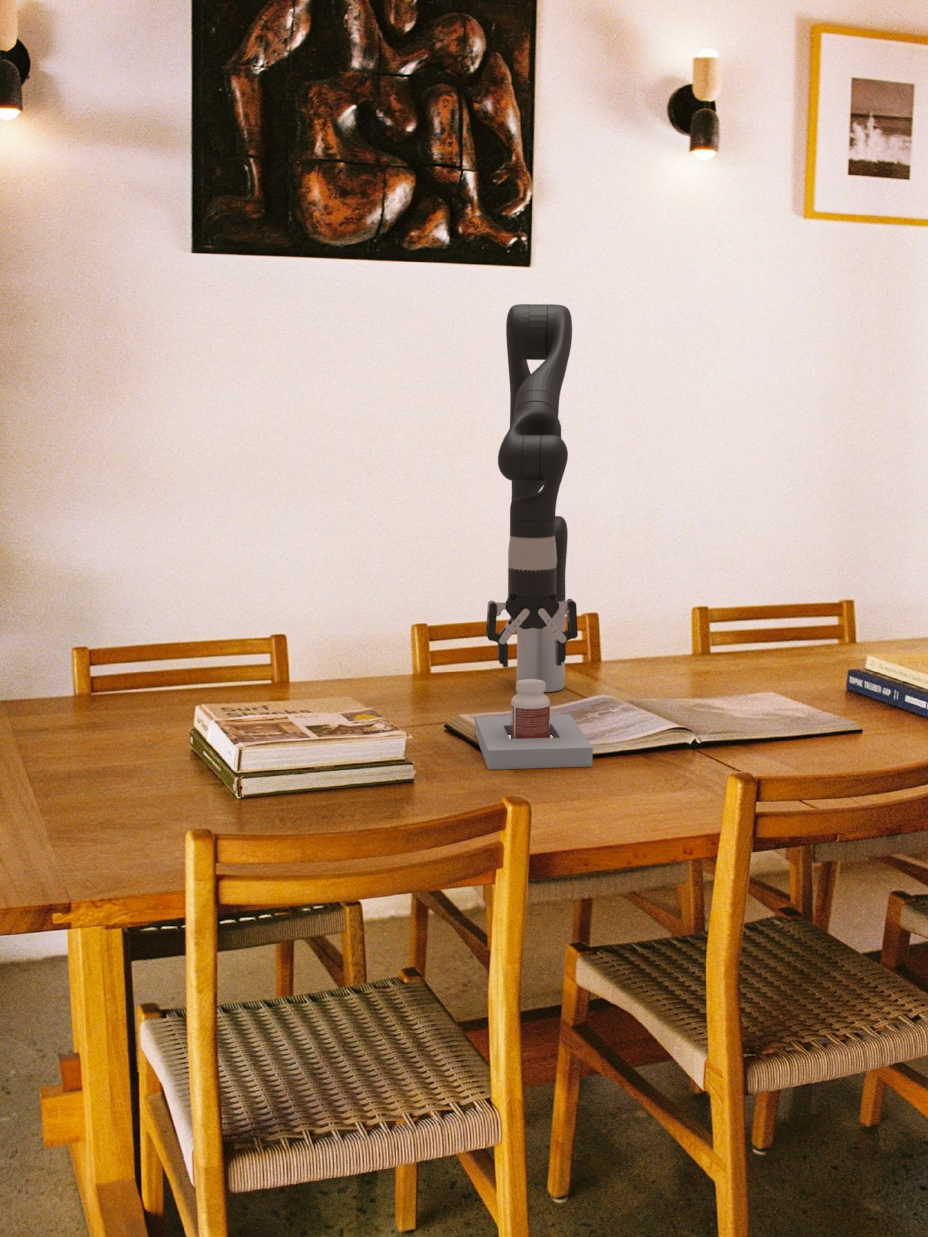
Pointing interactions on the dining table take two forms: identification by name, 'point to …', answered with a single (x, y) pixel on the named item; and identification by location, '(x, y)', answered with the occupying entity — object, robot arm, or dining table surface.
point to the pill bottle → (530, 710)
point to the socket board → (533, 745)
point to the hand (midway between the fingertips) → (531, 665)
